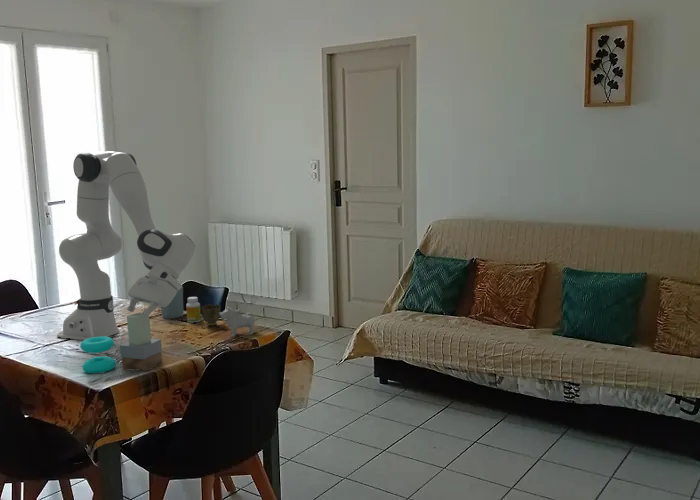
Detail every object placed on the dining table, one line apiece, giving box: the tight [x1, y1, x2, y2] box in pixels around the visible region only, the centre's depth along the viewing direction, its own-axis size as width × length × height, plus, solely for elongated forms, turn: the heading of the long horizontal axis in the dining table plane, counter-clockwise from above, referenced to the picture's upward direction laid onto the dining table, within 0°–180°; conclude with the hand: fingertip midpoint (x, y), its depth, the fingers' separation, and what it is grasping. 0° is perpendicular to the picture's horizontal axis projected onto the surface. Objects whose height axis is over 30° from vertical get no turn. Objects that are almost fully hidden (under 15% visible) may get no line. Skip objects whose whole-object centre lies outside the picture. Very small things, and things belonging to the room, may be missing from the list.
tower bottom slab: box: [121, 351, 163, 371], centre depth 226 cm, size 9×9×4 cm
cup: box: [200, 303, 221, 327], centre depth 272 cm, size 8×7×8 cm
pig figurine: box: [219, 306, 256, 337], centre depth 259 cm, size 5×13×11 cm, turn 105°
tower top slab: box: [119, 338, 162, 359], centre depth 226 cm, size 9×9×4 cm
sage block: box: [126, 312, 152, 345], centre depth 225 cm, size 5×5×9 cm
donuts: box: [80, 336, 116, 374], centre depth 223 cm, size 10×10×10 cm
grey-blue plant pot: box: [161, 286, 185, 319], centre depth 290 cm, size 10×10×12 cm
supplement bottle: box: [185, 296, 202, 324], centre depth 280 cm, size 5×5×10 cm
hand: (136, 312), depth 223 cm, fingers open, 8 cm apart
